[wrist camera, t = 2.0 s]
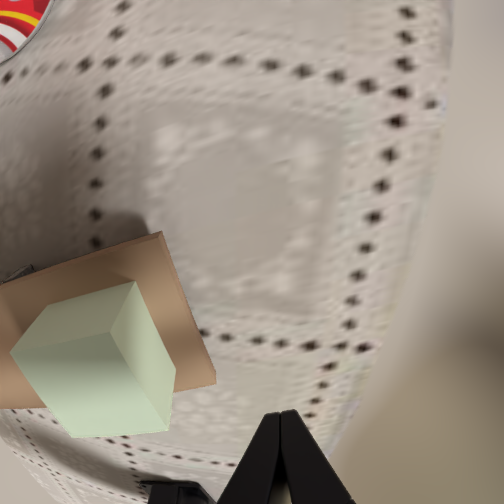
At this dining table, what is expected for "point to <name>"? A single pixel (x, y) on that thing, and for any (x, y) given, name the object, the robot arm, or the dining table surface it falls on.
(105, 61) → the dining table surface
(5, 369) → the beam
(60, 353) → the block
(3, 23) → the soda can
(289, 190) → the dining table surface
